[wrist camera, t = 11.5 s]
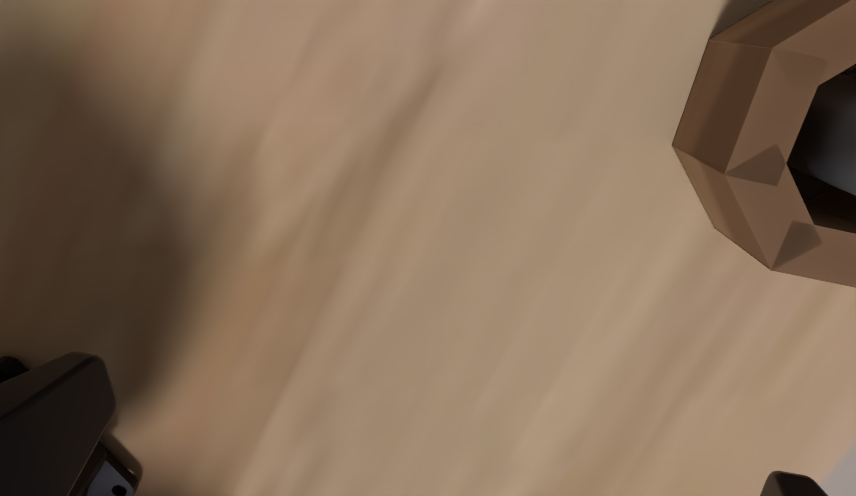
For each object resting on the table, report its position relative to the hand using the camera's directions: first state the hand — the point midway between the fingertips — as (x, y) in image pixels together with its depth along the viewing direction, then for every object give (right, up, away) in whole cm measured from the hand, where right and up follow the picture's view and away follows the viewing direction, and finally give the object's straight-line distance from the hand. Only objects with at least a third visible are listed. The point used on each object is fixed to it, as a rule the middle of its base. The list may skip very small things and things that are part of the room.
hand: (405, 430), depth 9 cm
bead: (+11, +6, +11) cm, 17 cm away
